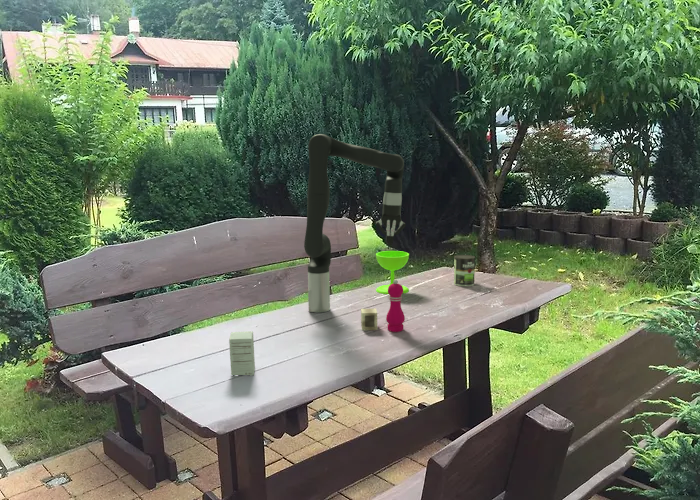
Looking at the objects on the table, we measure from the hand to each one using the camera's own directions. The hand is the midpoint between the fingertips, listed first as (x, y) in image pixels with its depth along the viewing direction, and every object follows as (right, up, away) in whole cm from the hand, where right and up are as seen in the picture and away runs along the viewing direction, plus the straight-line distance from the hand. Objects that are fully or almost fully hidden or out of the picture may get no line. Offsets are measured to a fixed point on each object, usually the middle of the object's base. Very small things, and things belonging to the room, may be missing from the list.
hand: (389, 244), depth 258 cm
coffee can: (+41, -20, +51) cm, 69 cm away
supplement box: (-51, -42, -57) cm, 87 cm away
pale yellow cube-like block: (-9, -33, -14) cm, 37 cm away
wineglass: (+4, -22, +41) cm, 47 cm away
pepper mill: (+1, -34, -17) cm, 37 cm away
